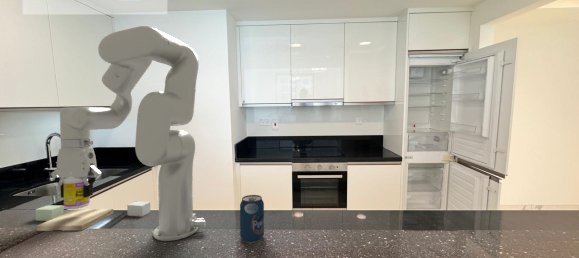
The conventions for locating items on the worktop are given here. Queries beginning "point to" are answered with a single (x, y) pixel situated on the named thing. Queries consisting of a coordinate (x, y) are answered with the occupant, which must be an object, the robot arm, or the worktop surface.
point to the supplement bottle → (74, 193)
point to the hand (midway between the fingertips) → (77, 195)
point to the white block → (138, 208)
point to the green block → (49, 212)
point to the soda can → (251, 218)
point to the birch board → (75, 220)
